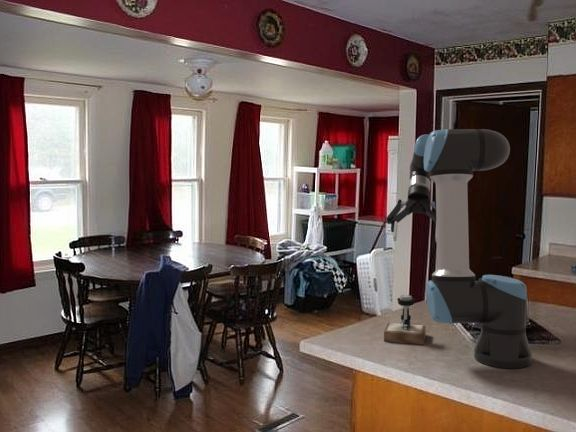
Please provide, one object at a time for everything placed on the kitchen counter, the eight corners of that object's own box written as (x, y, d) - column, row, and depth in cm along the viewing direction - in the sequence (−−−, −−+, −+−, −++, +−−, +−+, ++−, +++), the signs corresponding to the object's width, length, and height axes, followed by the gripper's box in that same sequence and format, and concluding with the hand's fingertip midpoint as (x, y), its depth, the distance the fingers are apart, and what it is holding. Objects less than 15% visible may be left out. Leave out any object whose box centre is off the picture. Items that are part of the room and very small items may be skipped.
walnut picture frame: (425, 334, 184) (425, 324, 184) (423, 344, 175) (423, 333, 175) (387, 331, 188) (387, 322, 188) (384, 341, 178) (384, 330, 178)
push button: (413, 331, 177) (414, 299, 176) (396, 330, 178) (396, 298, 178) (414, 325, 184) (414, 294, 183) (397, 324, 185) (397, 293, 184)
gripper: (455, 198, 202) (454, 247, 189) (384, 198, 209) (378, 245, 196) (455, 184, 197) (454, 233, 184) (382, 184, 204) (376, 231, 191)
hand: (415, 239), depth 190 cm, fingers open, 13 cm apart
